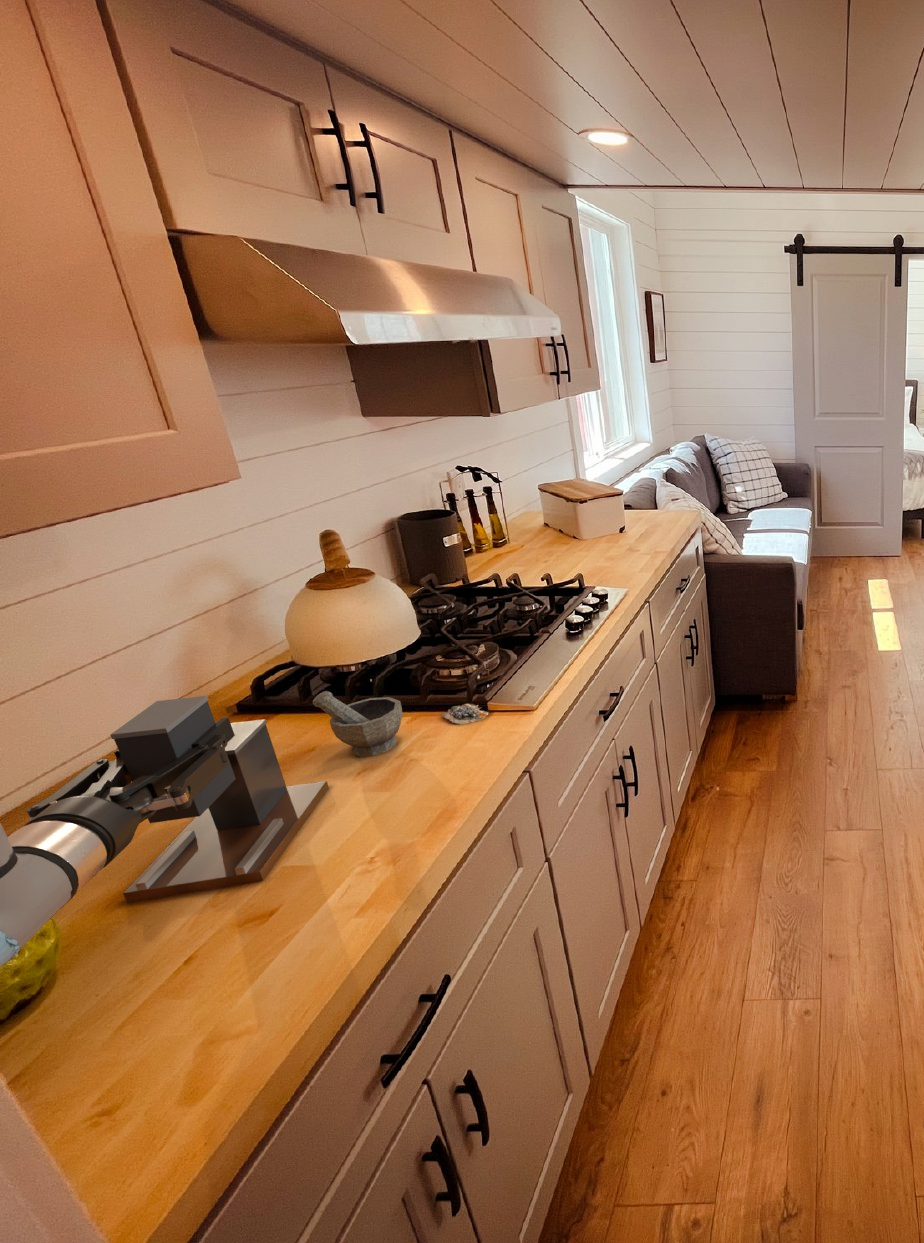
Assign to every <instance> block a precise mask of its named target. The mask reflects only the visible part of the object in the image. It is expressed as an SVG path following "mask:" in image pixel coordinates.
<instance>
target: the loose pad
mask: <svg viewBox="0 0 924 1243" xmlns="http://www.w3.org/2000/svg"><path fill="white" fill-rule="evenodd" d="M209 700H210V699H209V696H208V695H202V696H201V695H200V696H191V697H183V698H173V699H163V700H156V701H155V702H153V703H151V705H149V706H147V707H146V708H145V709H143V710H142V711H141V712H139V713H138V714H136V715H135V716H134V717H133V718H131V719H130V720H128V721H127V722H125V723H124V724H123V725H121V726H120V727H118V728H117V729H116V730H114V731H113V732H112V733H110V734H109V735H110V738H111V740H114V743H115V745H116V748H117V750H119V752H120V754H121V757H122V759H123V762H124V764H125V766H126V769H127V771H128V773H129V776H130V778H131V780H132V782H133V781H134V780H136V779H138V778H139V777H141V776H150V775H152V774H154V773H155V772H157V771H158V770H160V769H162V768H163V767H165V766H166V765H168V764H170V763H171V762H173V761H174V760H176V759H178V758H179V757H181V756H182V755H184V754H186V753H187V752H189V751H191V750H192V749H193V748H192V745H191V744H192V743H194V742H195V741H196V740H197V739H198V738H199V737H201V736H202V735H203V734H204V733H205V732H206V731H207V730H209V729H210V728H211V727H212V726H213V725H214V724H215V723H216V720H215V717H214V714H213V712H212V709H211V706H210V704H209ZM224 751H225V754H226V756H227V753H226V750H225V748H224ZM227 759H228V756H227ZM228 762H229V764H228V765H227V766H226V767H225V768H224V769H223V770H222V771H221V772H220V773H219V774H217V775H216V776H215V777H214V778H213V779H212V780H211V781H210V782H209V783H208V784H207V785H206V786H205V787H204V788H203V789H202V790H201V791H200V792H199V793H198V794H197V795H196V796H195V797H194V798H193V801H192V804H191V806H190V807H189V808H187V809H185V810H181V811H177V810H176V808H175V806H174V807H172V806H170V807H166V808H162V809H159V810H157V811H156V813H155V814H154V815H153V816H151V817H150V818H148V819H147V820H148V822H149V824H156V823H163V822H169V821H176V820H177V821H178V820H183V819H190V818H195V817H198V816H201V815H202V814H203V813H204V812H205V811H206V810H207V809H208V807H209V806H210V805H211V804H212V803H213V802H214V801H215V800H216V799H217V798H218V797H219V796H220V795H221V794H222V793H223V792H224V791H225V790H226V789H227V788H228V787H229V785H230V784H231V783H232V782H233V781H234V780H235V779H236V778H235V775H234V772H233V770H232V767H231V764H230V761H229V759H228Z"/></svg>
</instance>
